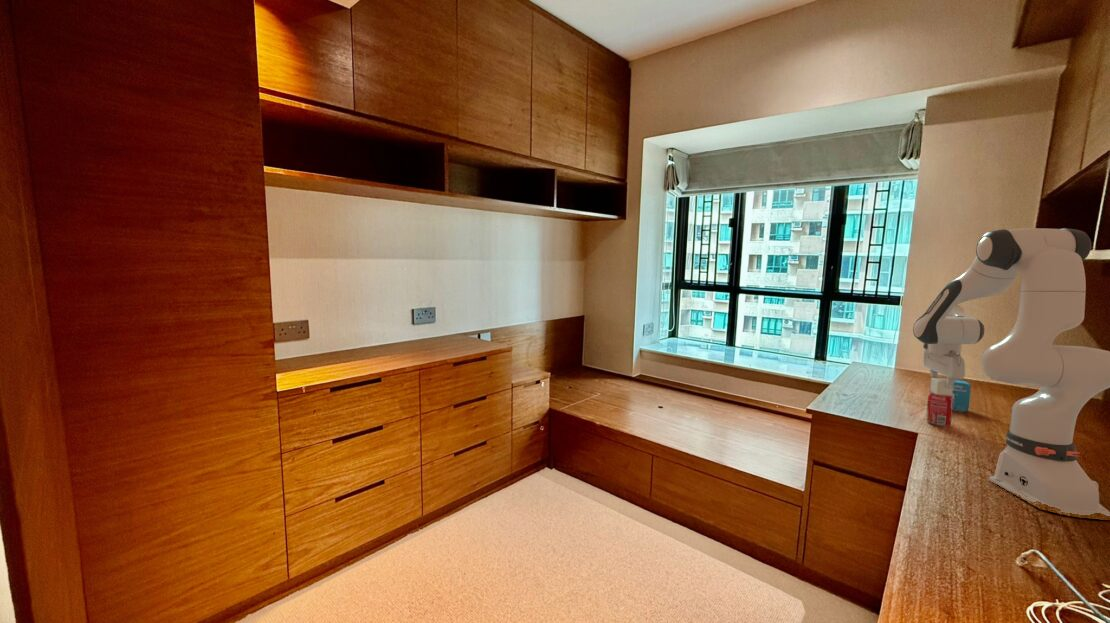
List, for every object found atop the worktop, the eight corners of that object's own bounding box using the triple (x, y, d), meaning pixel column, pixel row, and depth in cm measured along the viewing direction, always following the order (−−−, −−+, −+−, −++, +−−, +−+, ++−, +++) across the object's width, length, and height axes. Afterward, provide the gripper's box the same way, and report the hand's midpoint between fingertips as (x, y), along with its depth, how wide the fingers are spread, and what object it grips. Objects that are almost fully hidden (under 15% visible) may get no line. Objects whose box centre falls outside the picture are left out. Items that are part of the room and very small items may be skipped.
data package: (928, 406, 179) (930, 378, 178) (929, 403, 182) (932, 376, 181) (967, 413, 170) (970, 384, 169) (968, 410, 173) (971, 382, 172)
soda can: (940, 420, 163) (943, 390, 161) (956, 427, 156) (959, 396, 154) (920, 420, 163) (923, 390, 162) (935, 427, 156) (938, 395, 155)
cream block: (952, 395, 155) (953, 382, 155) (936, 394, 157) (937, 381, 156) (945, 391, 160) (946, 378, 159) (930, 390, 161) (931, 378, 161)
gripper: (972, 354, 146) (969, 393, 147) (940, 344, 165) (937, 378, 166) (950, 353, 148) (946, 392, 149) (920, 343, 167) (918, 377, 168)
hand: (941, 384), depth 158 cm, fingers open, 8 cm apart
